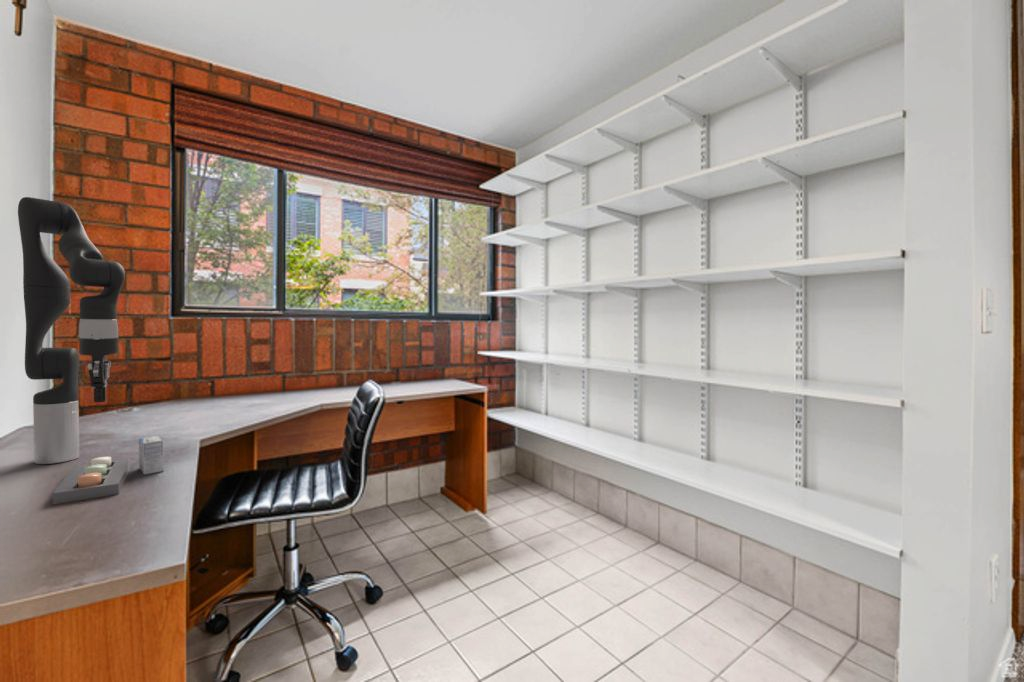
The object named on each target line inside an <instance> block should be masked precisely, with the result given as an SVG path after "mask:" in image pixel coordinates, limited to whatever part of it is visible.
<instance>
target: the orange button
mask: <svg viewBox="0 0 1024 682" xmlns="http://www.w3.org/2000/svg"><path fill="white" fill-rule="evenodd" d="M94 485H101V473H89V474H84V475H81V476H79V477H78V488H80V487H87V486H94Z"/></svg>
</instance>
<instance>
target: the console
mask: <svg viewBox="0 0 1024 682" xmlns="http://www.w3.org/2000/svg"><path fill="white" fill-rule="evenodd" d="M88 466H91V462H90V463H83V464H75V465H74V467H73V468H72V469H71V470H70V471H69V472H68V474H67V475H66V476H65V478H64V479H63V480H62V481H61V483H59V485H58V486H57V487H56V489H55V490H54V491H53V492H52V505H58V504H65V503H71V502H76V501H82V500H83V501H84V500H90V499H95V498H97V499H98V498H101V497H102V498H103V497H108V496H115V495H119V493H120V492H121V490H122V487H123V485H124V483H123V482H125V480H126V478H127V475H128V474H129V471H130V468H131V458H123V459H114V460H111V467H107V475H103V476H101V485H94V486H87V487H80V488H78V477H79V476H81V475H84V474H85V468H86V467H88Z"/></svg>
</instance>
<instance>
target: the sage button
mask: <svg viewBox="0 0 1024 682" xmlns="http://www.w3.org/2000/svg"><path fill="white" fill-rule="evenodd" d="M89 473H101V476H103V475H107V465H106V464H98V465H92V466H88V467H86V468H85V474H89Z"/></svg>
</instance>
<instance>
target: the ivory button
mask: <svg viewBox="0 0 1024 682" xmlns="http://www.w3.org/2000/svg"><path fill="white" fill-rule="evenodd" d="M111 461H112V456H99V457H94V458H91V460H90V463H91V466H92V465H98V464H106V465H107V467H111Z"/></svg>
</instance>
